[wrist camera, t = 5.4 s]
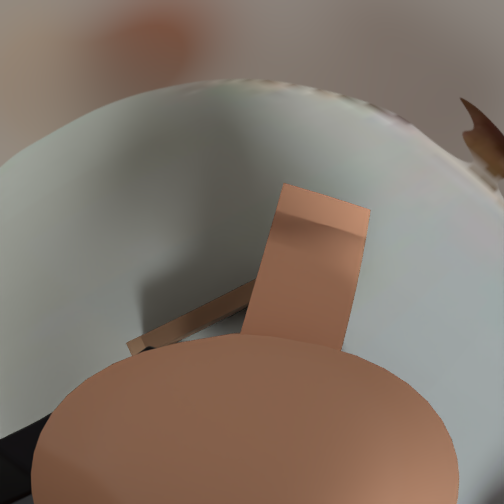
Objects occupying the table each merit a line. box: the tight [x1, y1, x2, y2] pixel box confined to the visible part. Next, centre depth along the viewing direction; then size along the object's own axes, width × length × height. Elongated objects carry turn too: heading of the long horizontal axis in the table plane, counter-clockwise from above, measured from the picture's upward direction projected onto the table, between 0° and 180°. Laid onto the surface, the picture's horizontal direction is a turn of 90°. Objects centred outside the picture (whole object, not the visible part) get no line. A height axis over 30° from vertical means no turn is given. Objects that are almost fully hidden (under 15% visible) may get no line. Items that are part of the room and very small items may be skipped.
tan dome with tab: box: [31, 183, 459, 504], centre depth 9 cm, size 9×6×13 cm
